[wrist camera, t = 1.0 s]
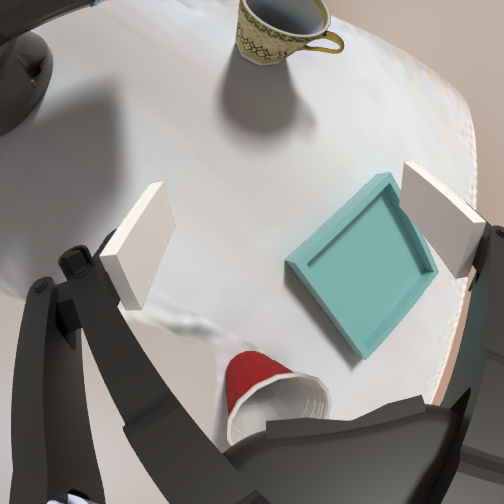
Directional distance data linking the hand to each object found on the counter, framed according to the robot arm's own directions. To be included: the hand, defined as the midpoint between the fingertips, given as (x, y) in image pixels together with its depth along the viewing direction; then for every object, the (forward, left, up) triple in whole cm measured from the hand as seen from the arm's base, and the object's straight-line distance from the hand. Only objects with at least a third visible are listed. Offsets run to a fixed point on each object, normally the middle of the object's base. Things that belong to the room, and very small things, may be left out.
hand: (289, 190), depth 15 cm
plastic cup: (+17, -10, -18) cm, 27 cm away
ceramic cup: (-13, +18, -18) cm, 29 cm away
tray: (+18, +11, -18) cm, 28 cm away
